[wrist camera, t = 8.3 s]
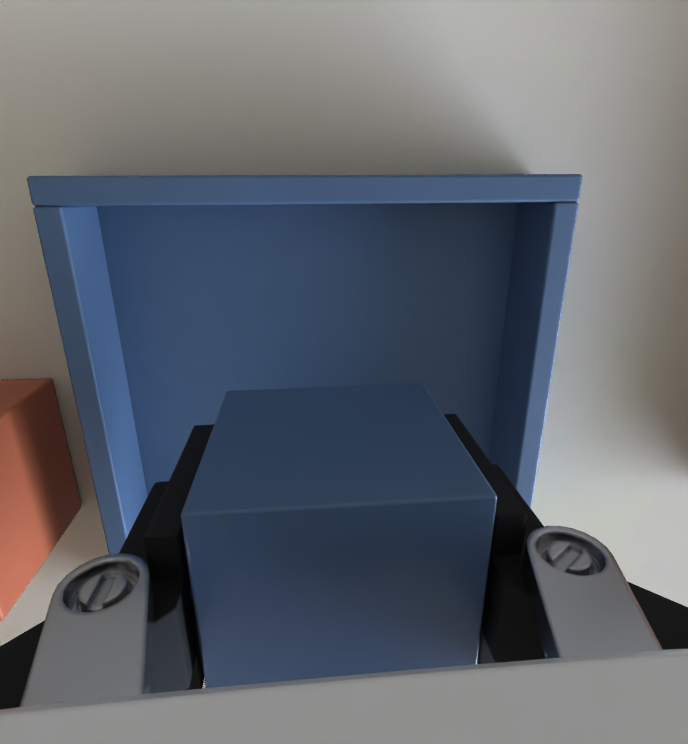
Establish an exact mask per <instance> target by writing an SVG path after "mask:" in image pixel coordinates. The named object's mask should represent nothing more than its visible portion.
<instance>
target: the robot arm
mask: <svg viewBox="0 0 688 744" xmlns="http://www.w3.org/2000/svg"><path fill="white" fill-rule="evenodd" d="M443 415H444V416H445V418H446V419H447V421H448V422H449V424H450V425H451V427H452V428H453V430H454V432H455V433H456V435H457V436H458V438H459V439H460V441H461V442H462V444H463V445H464V447H465V448H466V450H467V451H468V453H469V454H470V456H471V457H472V459H473V460H474V462H475V463H476V465H477V466H478V468H479V469H480V471H481V472H482V474H483V475H484V477H485V478H486V480H487V481H488V483H489V484H490V486H491V488H492V489H493V491H494V492H495V494H496V496H497V503H496V511H495V519H494V527H493V535H492V543H491V552H490V560H489V568H488V576H487V584H486V592H485V601H484V609H483V617H482V625H481V633H480V641H479V650H478V658H477V664H475V665H463V666H451V667H440V668H428V669H416V670H405V671H393V672H381V673H370V674H359V675H347V676H336V677H325V678H313V679H302V680H291V681H279V682H268V683H258V684H247V685H236V686H225V687H215V688H204V689H202V686H203V681H204V671H203V664H202V657H201V650H200V644H199V637H198V630H197V623H196V616H195V610H194V603H193V596H192V589H191V583H190V576H189V569H188V562H187V556H186V549H185V542H184V535H183V529H182V522H181V513H182V510H183V508H184V505H185V502H186V499H187V497H188V494H189V491H190V489H191V486H192V483H193V481H194V478H195V475H196V472H197V470H198V467H199V464H200V462H201V459H202V456H203V454H204V451H205V448H206V445H207V443H208V440H209V437H210V435H211V432H212V429H213V427H214V424H212V425H195V426H194V427H193V429H192V432H191V434H190V436H189V438H188V440H187V443H186V445H185V447H184V449H183V451H182V454H181V456H180V458H179V460H178V462H177V465H176V467H175V469H174V471H173V473H172V476H171V478H170V480H169V481H163V482H156V483H155V484H154V485H153V487H152V489H151V491H150V493H149V495H148V497H147V498H146V500H145V502H144V504H143V506H142V508H141V510H140V512H139V514H138V516H137V518H136V520H135V522H134V524H133V526H132V528H131V530H130V532H129V534H128V536H127V538H126V540H125V542H124V544H123V546H122V548H121V550H120V552H119V554H111V555H105V556H102V557H99V558H95V559H92V560H90V561H88V562H86V563H84V564H82V565H80V566H79V567H77V568H76V569H74V570H73V571H72V572H70V573H69V574H67V575H66V576H65V578H64V579H63V580H62V581H61V582H60V583H59V584H58V585H57V587H56V589H55V591H54V593H53V595H52V598H51V602H50V605H49V608H48V612H47V615H46V618H45V621H43V622H41V623H40V624H38V625H36V626H34V627H33V628H31V629H29V630H28V631H26V632H24V633H23V634H21V635H19V636H17V637H16V638H14V639H12V640H11V641H9V642H7V643H5V644H4V645H2V646H0V744H688V607H685V606H683V605H681V604H678V603H676V602H674V601H671V600H669V599H667V598H664V597H662V596H660V595H657V594H655V593H653V592H650V591H648V590H646V589H643V588H641V587H639V586H636V585H634V584H632V583H629V582H627V581H626V579H625V577H624V575H623V573H622V571H621V569H620V567H619V566H618V564H617V562H616V560H615V558H614V556H613V555H612V553H611V552H610V551H609V549H608V548H607V547H606V546H605V545H603V544H602V543H601V542H600V541H598V540H597V539H596V538H594V537H592V536H590V535H588V534H586V533H584V532H582V531H579V530H576V529H573V528H568V527H563V526H545V527H544V526H543V525H542V523H541V522H540V521H539V519H538V518H537V517H536V515H535V514H534V513H533V511H532V510H531V509H530V507H529V506H528V504H527V503H526V502H525V500H524V499H523V498H522V496H521V495H520V494H519V492H518V491H517V490H516V488H515V487H514V486H513V484H512V483H511V481H510V480H509V479H508V477H507V476H506V475H505V473H504V472H503V471H502V469H501V468H500V467H499V466H498V465H497V464H491V462H490V461H489V459H488V458H487V457H486V455H485V454H484V452H483V451H482V450H481V448H480V447H479V445H478V444H477V443H476V441H475V440H474V438H473V437H472V436H471V434H470V433H469V431H468V430H467V429H466V427H465V426H464V425H463V423H462V422H461V420H460V419H459V418H458V416H457V415H456V414H443Z"/></svg>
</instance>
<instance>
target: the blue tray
mask: <svg viewBox="0 0 688 744" xmlns="http://www.w3.org/2000/svg"><path fill="white" fill-rule="evenodd" d="M27 182H28V187H29V191H30V196H31V200H32V203H33V205H35V206H36V207H34V209H33V210H34V215H35V219H36V224H37V228H38V233H39V237H40V242H41V246H42V251H43V256H44V260H45V265H46V269H47V274H48V278H49V283H50V287H51V292H52V297H53V301H54V306H55V310H56V315H57V319H58V324H59V328H60V333H61V337H62V342H63V347H64V351H65V356H66V360H67V365H68V369H69V374H70V378H71V383H72V387H73V392H74V397H75V401H76V406H77V410H78V415H79V419H80V424H81V428H82V433H83V438H84V442H85V447H86V451H87V456H88V460H89V465H90V469H91V474H92V478H93V483H94V488H95V492H96V497H97V501H98V506H99V510H100V515H101V519H102V524H103V529H104V533H105V538H106V542H107V547H108V551H109V555H111V554H119V552H120V550H121V548H122V546H123V544H124V542H125V540H126V538H127V536H128V534H129V532H130V530H131V528H132V526H133V524H134V522H135V520H136V518H137V516H138V514H139V512H140V510H141V508H142V506H143V504H144V502H145V500H146V498H147V497H148V495H149V493H150V491H151V489H152V487H153V485H154V484H155V483H156V482H163V481H169V480H170V478H171V476H172V473H173V471H174V469H175V467H176V465H177V462H178V460H179V458H180V456H181V454H182V451H183V449H184V447H185V445H186V443H187V440H188V438H189V436H190V434H191V432H192V429H193V427H194V426H195V425H212V424H215V421H216V418H217V416H218V413H219V410H220V408H221V405H222V402H223V400H224V397H225V394H226V392H227V391H237V390H263V389H289V388H315V387H340V386H366V385H392V384H418V383H422V384H423V385H424V386H425V388H426V389H427V391H428V392H429V394H430V395H431V397H432V398H433V400H434V401H435V403H436V404H437V406H438V407H439V409H440V410H441V412H442V413H443V414H456V415H457V416H458V418H459V419H460V420H461V422H462V423H463V425H464V426H465V427H466V429H467V430H468V431H469V433H470V434H471V436H472V437H473V438H474V440H475V441H476V443H477V444H478V445H479V447H480V448H481V450H482V451H483V452H484V454H485V455H486V457H487V458H488V459H489V461H490V462H491V464H497V465H498V466H499V467H500V468H501V469H502V471H503V472H504V473H505V475H506V476H507V477H508V479H509V480H510V481H511V483H512V484H513V486H514V487H515V488H516V490H517V491H518V492H519V494H520V495H521V496H522V498H523V499H524V500H525V502H526V503H527V504H528V506H529V507H530V509H531V505H532V499H533V493H534V486H535V480H536V473H537V467H538V460H539V454H540V448H541V441H542V435H543V428H544V422H545V416H546V409H547V403H548V396H549V390H550V383H551V377H552V371H553V364H554V358H555V351H556V345H557V338H558V332H559V326H560V319H561V313H562V306H563V300H564V293H565V287H566V281H567V274H568V268H569V261H570V255H571V248H572V242H573V236H574V229H575V223H576V216H577V210H578V203H577V202H576V201H578V200H579V196H580V189H581V183H582V175H580V174H494V175H172V176H29V177H27Z"/></svg>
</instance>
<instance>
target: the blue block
mask: <svg viewBox="0 0 688 744" xmlns="http://www.w3.org/2000/svg"><path fill="white" fill-rule="evenodd" d="M496 503H497V496H496V494H495V492H494V491H493V489H492V488H491V486H490V484H489V483H488V481H487V480H486V478H485V477H484V475H483V474H482V472H481V471H480V469H479V468H478V466H477V465H476V463H475V462H474V460H473V459H472V457H471V456H470V454H469V453H468V451H467V450H466V448H465V447H464V445H463V444H462V442H461V441H460V439H459V438H458V436H457V435H456V433H455V432H454V430H453V428H452V427H451V425H450V424H449V422H448V421H447V419H446V418H445V416H444V415H443V413H442V412H441V410H440V409H439V407H438V406H437V404H436V403H435V401H434V400H433V398H432V397H431V395H430V394H429V392H428V391H427V389H426V388H425V386H424V385H423V384H422V383H418V384H392V385H366V386H340V387H315V388H289V389H263V390H237V391H227V392H226V394H225V397H224V400H223V402H222V405H221V408H220V410H219V413H218V416H217V418H216V421H215V424H214V427H213V429H212V432H211V435H210V437H209V440H208V443H207V445H206V448H205V451H204V454H203V456H202V459H201V462H200V464H199V467H198V470H197V472H196V475H195V478H194V481H193V483H192V486H191V489H190V491H189V494H188V497H187V499H186V502H185V505H184V508H183V510H182V513H181V522H182V529H183V535H184V542H185V549H186V556H187V562H188V569H189V576H190V583H191V589H192V596H193V603H194V610H195V616H196V623H197V630H198V637H199V644H200V650H201V657H202V664H203V671H204V677H205V684H206V688H215V687H225V686H236V685H247V684H258V683H268V682H279V681H291V680H302V679H313V678H325V677H336V676H347V675H359V674H370V673H381V672H393V671H405V670H416V669H428V668H440V667H451V666H463V665H475V664H477V658H478V650H479V641H480V633H481V625H482V617H483V609H484V601H485V592H486V584H487V576H488V568H489V560H490V552H491V543H492V535H493V527H494V519H495V511H496Z"/></svg>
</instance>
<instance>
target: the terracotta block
mask: <svg viewBox="0 0 688 744" xmlns="http://www.w3.org/2000/svg"><path fill="white" fill-rule="evenodd" d="M80 508H81V502H80V498H79V494H78V489H77V485H76V481H75V477H74V472H73V468H72V464H71V460H70V455H69V451H68V447H67V442H66V438H65V434H64V430H63V425H62V421H61V417H60V413H59V408H58V404H57V400H56V396H55V391H54V387H53V383H52V380H51V379H23V380H0V621H2V620H4V619H5V617H6V616H7V614H8V613H9V611H10V610H11V608H12V607H13V606H14V604H15V603H16V601H17V600H18V598H19V597H20V595H21V594H22V593H23V591H24V590H25V588H26V587H27V585H28V584H29V582H30V581H31V579H32V578H33V577H34V575H35V574H36V572H37V571H38V569H39V568H40V566H41V565H42V564H43V562H44V561H45V559H46V558H47V556H48V555H49V553H50V552H51V551H52V549H53V548H54V546H55V545H56V543H57V542H58V540H59V539H60V537H61V536H62V535H63V533H64V532H65V530H66V529H67V527H68V526H69V524H70V523H71V522H72V520H73V519H74V517H75V516H76V514H77V513H78V511H79V510H80Z"/></svg>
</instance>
